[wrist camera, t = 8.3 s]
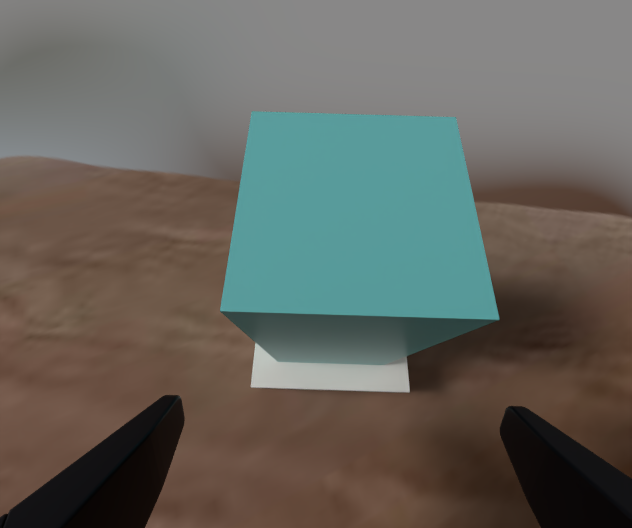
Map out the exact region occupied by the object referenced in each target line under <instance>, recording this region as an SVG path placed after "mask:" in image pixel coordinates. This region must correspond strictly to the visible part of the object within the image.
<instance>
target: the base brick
mask: <svg viewBox="0 0 632 528" xmlns="http://www.w3.org/2000/svg"><path fill="white" fill-rule="evenodd" d="M251 387H255V388H275V389H306V390H337V391H367V392H410V388H409V377H408V365H407V356H406V357H403V358H401V359H398V360H396V361H393V362H390V363H388V364H385V365H362V364H330V363H298V362H277V361H276V360H275V359H274V358H273V357H272V356H271V355H269V354H268V353H267V352H266V351H265V350H264V349H263V348H261V347H260V346H259V345H258V344H257V343H255V353H254V362H253V371H252V381H251Z"/></svg>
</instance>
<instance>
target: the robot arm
mask: <svg viewBox="0 0 632 528" xmlns="http://www.w3.org/2000/svg"><path fill="white" fill-rule="evenodd" d="M183 426H184V411H183V405H182V400H181V397H180V396H178V395H165V396H163V397H161V398H160V399H158V400H157V401H156V402H154V403H153V404H152V405H150V406H149V407H148V408H146V409H145V410H144V411H142V412H141V413H140V414H138V415H137V416H136V417H134V418H133V419H132V420H130V421H129V422H128V423H126V424H125V425H124V426H122V427H121V428H120V429H118V430H117V431H115V432H114V433H113V434H111V435H110V436H109V437H107V438H106V439H105V440H103V441H102V442H101V443H99V444H98V445H97V446H95V447H94V448H93V449H91V450H90V451H89V452H87V453H86V454H85V455H83V456H82V457H81V458H79V459H78V460H77V461H75V462H74V463H73V464H71V465H70V466H69V467H67V468H66V469H65V470H63V471H62V472H60V473H59V474H58V475H56V476H55V477H54V478H52V479H51V480H50V481H48V482H47V483H46V484H44V485H43V486H42V487H40V488H39V489H38V490H36V491H35V492H34V493H32V494H31V495H30V496H28V497H27V498H26V499H24V500H23V501H22V502H20V503H19V504H18V505H16V506H15V507H14V508H12V509H11V510H10V511H9V513H8V514H4V515H3V516H1V517H0V528H145V526H146V524H147V522H148V519H149V517H150V515H151V513H152V510H153V508H154V506H155V504H156V502H157V499H158V497H159V495H160V492H161V490H162V487H163V485H164V482H165V479H166V476H167V473H168V470H169V468H170V465H171V462H172V459H173V456H174V453H175V450H176V447H177V444H178V441H179V438H180V435H181V432H182V429H183ZM500 435H501V438H502V441H503V443H504V446H505V448H506V451H507V453H508V456H509V458H510V460H511V463H512V465H513V468H514V470H515V473H516V475H517V477H518V480H519V482H520V485H521V487H522V489H523V492H524V494H525V496H526V499H527V501H528V503H529V505H530V507H531V509H532V511H533V513H534V515H535V517H536V519H537V521H538V523H539V525H540V527H541V528H632V479H631V478H630V477H628V476H627V475H625V474H624V473H622V472H621V471H619V470H618V469H616V468H615V467H613V466H612V465H610V464H609V463H608V462H606V461H605V460H603V459H602V458H600V457H599V456H597V455H596V454H594V453H593V452H591V451H590V450H588V449H587V448H585V447H584V446H582V445H581V444H579V443H578V442H576V441H575V440H573V439H572V438H570V437H569V436H567V435H566V434H564V433H563V432H561V431H560V430H558V429H557V428H555V427H554V426H552V425H551V424H550V423H548V422H547V421H545V420H544V419H542V418H541V417H539V416H538V415H536V414H535V413H533V412H532V411H530V410H529V409H527V408H525V407H522V406H509V407H507V408H506V410H505V414H504V417H503V420H502V423H501V426H500Z"/></svg>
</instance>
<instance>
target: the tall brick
mask: <svg viewBox="0 0 632 528" xmlns="http://www.w3.org/2000/svg"><path fill="white" fill-rule="evenodd" d="M220 312H221V313H223V314H224V315H225V316H226V317H227V318H228V319H229V320H231V321H232V322H233V323H234V324H235V325H236V326H237V327H239V328H240V329H241V330H242V331H243V332H244V333H245V334H247V335H248V336H249V337H250V338H251V339H252V340H253V341H255V342H256V343H257V344H258V345H259V346H260V347H261V348H263V349H264V350H265V351H266V352H267V353H268V354H269V355H271V356H272V357H273V358H274V359H275V360H276V361H277V362H298V363H330V364H362V365H385V364H388V363H390V362H393V361H396V360H398V359H401V358H403V357H406V356H408V355H411V354H413V353H416V352H419V351H421V350H424V349H426V348H429V347H431V346H434V345H436V344H439V343H442V342H444V341H447V340H449V339H452V338H454V337H457V336H459V335H462V334H465V333H467V332H470V331H472V330H475V329H477V328H480V327H482V326H485V325H488V324H490V323H493V322H495V321H498V320H500V319H499V315H498V310H497V305H496V301H495V296H494V292H493V287H492V282H491V278H490V273H489V268H488V264H487V259H486V255H485V250H484V245H483V241H482V236H481V231H480V227H479V222H478V218H477V213H476V208H475V204H474V199H473V194H472V190H471V186H470V181H469V176H468V171H467V167H466V162H465V157H464V153H463V148H462V144H461V139H460V134H459V130H458V125H457V120H456V117H429V116H393V115H359V114H358V115H357V114H324V113H322V114H321V113H287V112H254V111H252V114H251V120H250V126H249V133H248V139H247V146H246V151H245V158H244V164H243V170H242V176H241V183H240V189H239V195H238V201H237V208H236V214H235V220H234V227H233V233H232V239H231V245H230V252H229V258H228V264H227V271H226V277H225V283H224V289H223V296H222V302H221V308H220Z"/></svg>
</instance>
